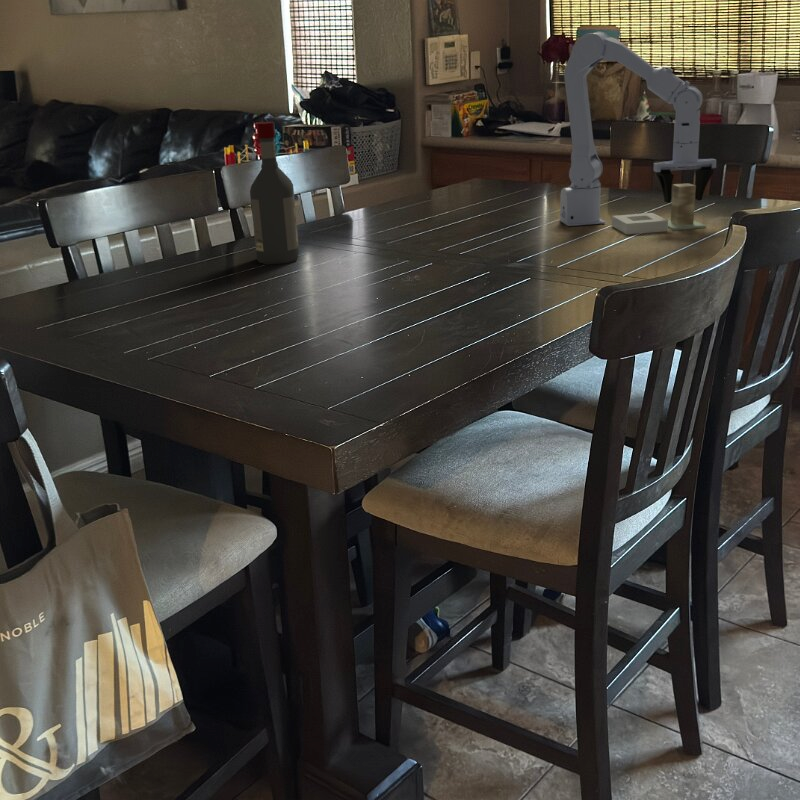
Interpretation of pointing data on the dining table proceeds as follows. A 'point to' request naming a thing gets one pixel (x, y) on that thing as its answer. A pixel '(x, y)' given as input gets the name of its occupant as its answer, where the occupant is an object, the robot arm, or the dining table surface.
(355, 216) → the dining table surface
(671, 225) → the mat
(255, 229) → the liquor
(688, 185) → the plug
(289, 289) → the dining table surface
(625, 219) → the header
